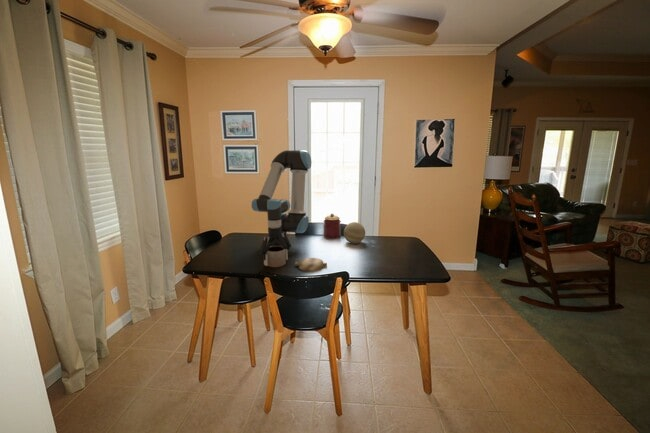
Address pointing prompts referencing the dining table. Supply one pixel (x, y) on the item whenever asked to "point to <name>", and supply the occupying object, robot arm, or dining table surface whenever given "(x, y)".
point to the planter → (276, 256)
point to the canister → (332, 226)
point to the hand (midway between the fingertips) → (276, 262)
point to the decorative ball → (354, 232)
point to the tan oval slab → (310, 264)
